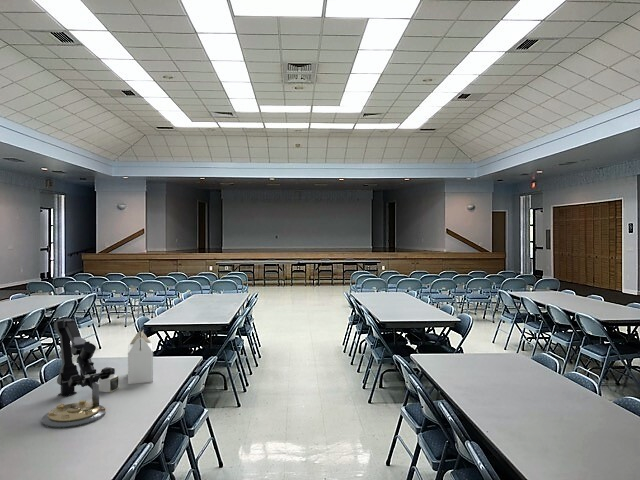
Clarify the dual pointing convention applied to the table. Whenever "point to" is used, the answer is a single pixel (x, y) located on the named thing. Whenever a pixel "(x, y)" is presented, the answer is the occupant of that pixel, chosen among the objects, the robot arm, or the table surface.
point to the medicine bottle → (109, 382)
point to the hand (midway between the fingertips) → (96, 392)
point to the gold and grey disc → (94, 418)
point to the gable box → (140, 359)
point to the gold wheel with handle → (77, 408)
